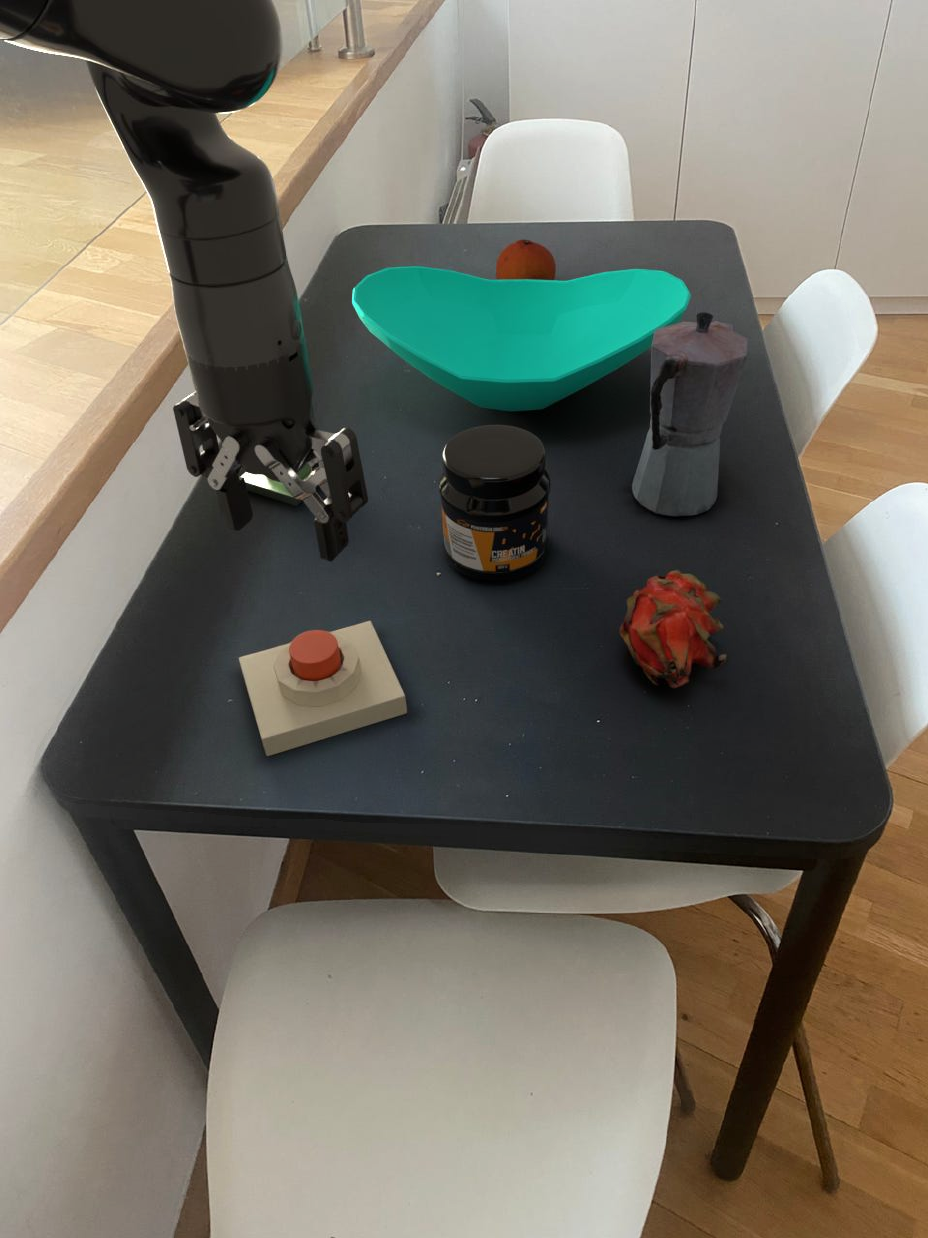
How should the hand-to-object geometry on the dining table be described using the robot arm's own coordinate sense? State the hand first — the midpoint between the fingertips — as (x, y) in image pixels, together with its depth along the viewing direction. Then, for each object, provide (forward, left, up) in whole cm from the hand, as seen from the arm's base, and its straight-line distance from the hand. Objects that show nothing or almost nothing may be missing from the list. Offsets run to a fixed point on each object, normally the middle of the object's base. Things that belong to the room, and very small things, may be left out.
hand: (286, 539), depth 69 cm
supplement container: (+21, +11, -16) cm, 29 cm away
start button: (0, -1, -12) cm, 12 cm away
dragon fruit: (+29, -9, -16) cm, 35 cm away
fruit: (+49, +67, -16) cm, 85 cm away
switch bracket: (+6, +34, -16) cm, 38 cm away
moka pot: (+42, +12, -16) cm, 47 cm away
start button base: (0, -1, -16) cm, 16 cm away
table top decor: (+36, +40, -16) cm, 56 cm away
